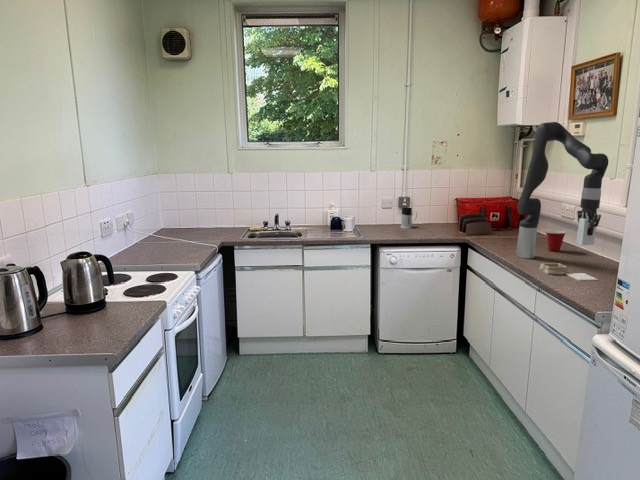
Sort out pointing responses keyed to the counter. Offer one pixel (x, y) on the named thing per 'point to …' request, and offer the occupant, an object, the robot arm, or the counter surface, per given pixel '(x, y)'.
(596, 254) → the counter surface
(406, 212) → the tall grey mug
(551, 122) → the robot arm
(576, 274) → the pad
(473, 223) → the letter holder
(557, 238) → the plastic cup
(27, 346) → the counter surface
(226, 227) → the counter surface
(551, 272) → the collar
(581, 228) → the skincare box
